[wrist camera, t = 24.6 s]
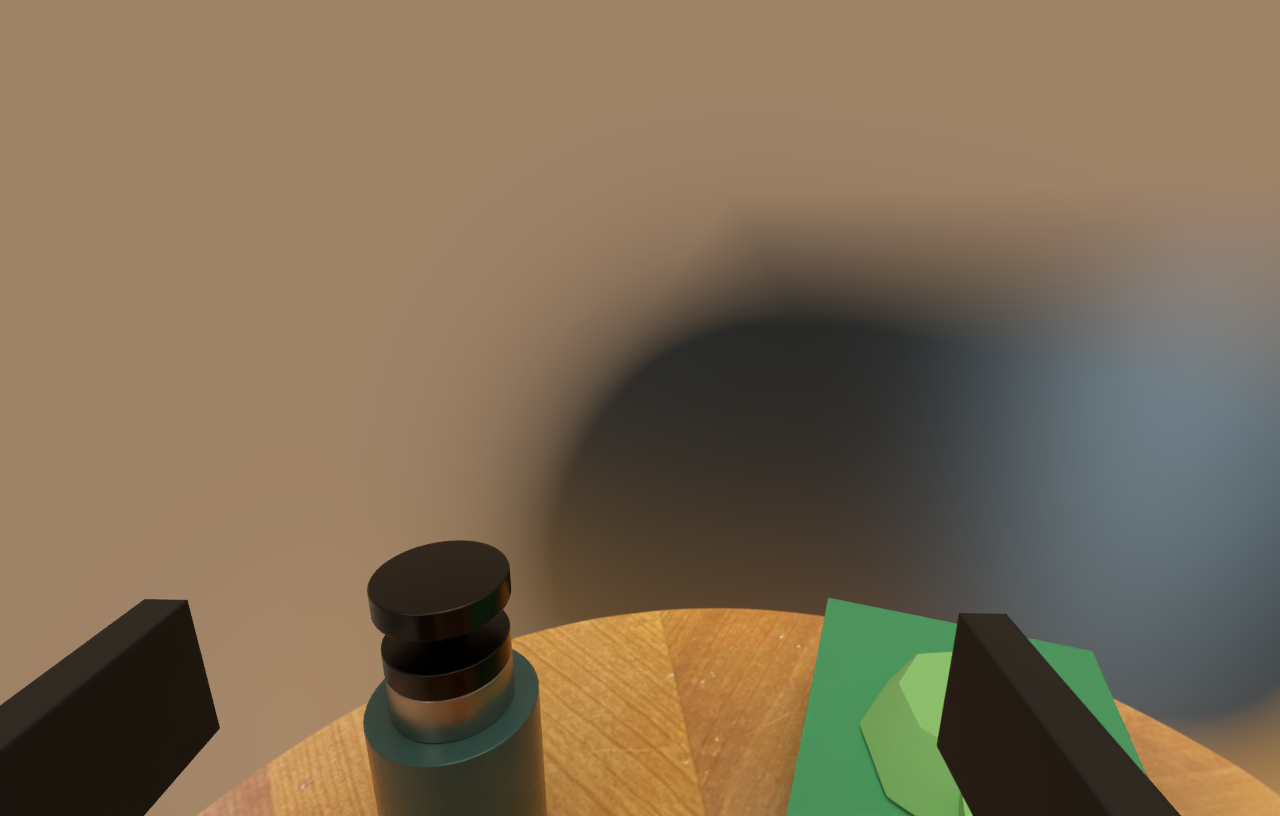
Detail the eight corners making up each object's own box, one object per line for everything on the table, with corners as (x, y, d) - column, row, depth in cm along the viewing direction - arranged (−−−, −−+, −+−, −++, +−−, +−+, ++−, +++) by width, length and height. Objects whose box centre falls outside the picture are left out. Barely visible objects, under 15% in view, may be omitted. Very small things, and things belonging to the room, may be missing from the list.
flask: (568, 917, 35) (550, 601, 29) (397, 991, 32) (337, 652, 26) (531, 787, 43) (511, 518, 37) (391, 835, 39) (344, 549, 33)
